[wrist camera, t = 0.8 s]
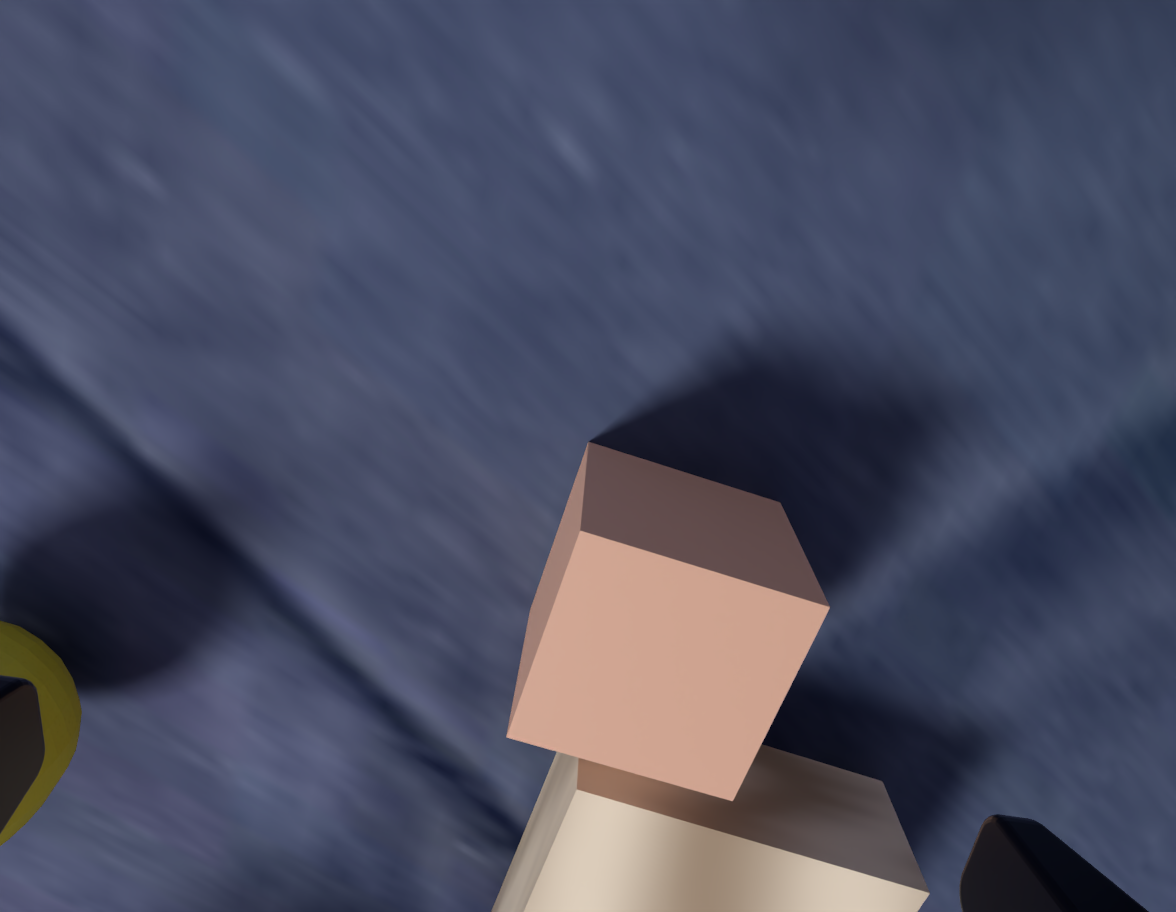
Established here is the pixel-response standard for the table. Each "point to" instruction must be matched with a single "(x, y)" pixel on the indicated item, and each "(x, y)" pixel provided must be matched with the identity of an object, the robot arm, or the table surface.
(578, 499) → the terracotta cube
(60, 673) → the lemon
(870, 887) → the beech block
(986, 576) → the table surface
